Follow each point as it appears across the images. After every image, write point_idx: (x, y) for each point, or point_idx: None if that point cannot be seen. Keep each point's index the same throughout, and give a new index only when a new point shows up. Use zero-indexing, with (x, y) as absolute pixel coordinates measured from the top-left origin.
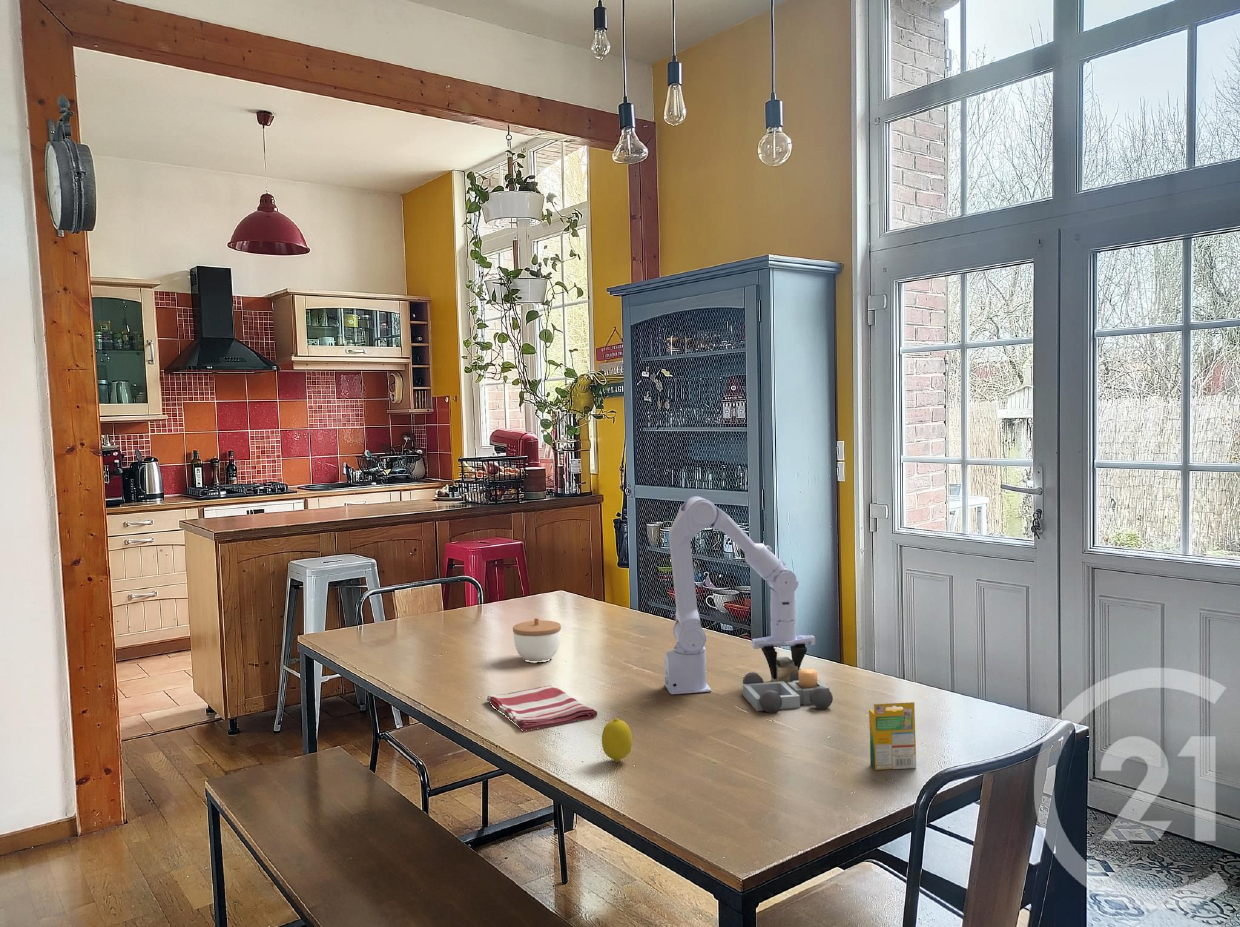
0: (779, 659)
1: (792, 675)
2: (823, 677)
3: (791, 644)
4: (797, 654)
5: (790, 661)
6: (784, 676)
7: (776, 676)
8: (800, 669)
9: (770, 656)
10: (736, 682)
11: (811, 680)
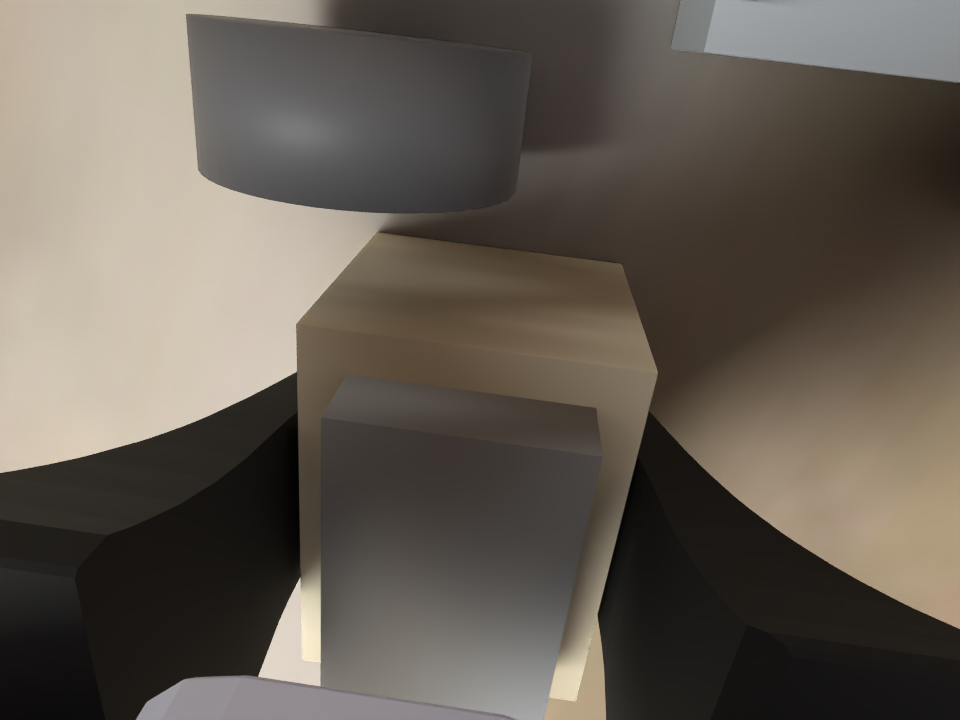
0: (508, 636)
1: (494, 125)
2: (14, 420)
3: (233, 685)
4: (170, 507)
5: (372, 476)
6: (550, 305)
7: None
8: (292, 176)
9: (874, 605)
10: (947, 586)
11: None
